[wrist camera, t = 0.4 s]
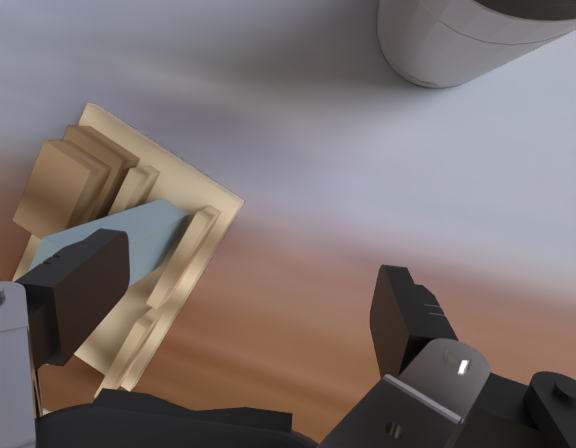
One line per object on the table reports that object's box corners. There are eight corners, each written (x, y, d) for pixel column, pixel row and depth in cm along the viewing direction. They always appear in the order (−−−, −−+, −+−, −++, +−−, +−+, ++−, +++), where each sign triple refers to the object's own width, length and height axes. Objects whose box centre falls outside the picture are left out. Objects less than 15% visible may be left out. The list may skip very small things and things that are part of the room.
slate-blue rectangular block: (164, 197, 32) (42, 237, 20) (188, 214, 32) (83, 264, 20) (136, 250, 34) (8, 317, 21) (160, 265, 34) (45, 342, 21)
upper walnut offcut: (69, 139, 30) (44, 140, 28) (112, 168, 30) (90, 171, 28) (38, 214, 32) (12, 220, 30) (78, 240, 32) (55, 249, 29)
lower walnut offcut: (90, 125, 32) (68, 125, 30) (140, 158, 32) (122, 160, 30) (51, 214, 35) (29, 220, 32) (98, 245, 35) (78, 253, 32)
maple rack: (96, 104, 33) (60, 99, 29) (244, 201, 33) (228, 210, 28) (12, 300, 39) (-28, 319, 35) (136, 384, 39) (110, 412, 35)
